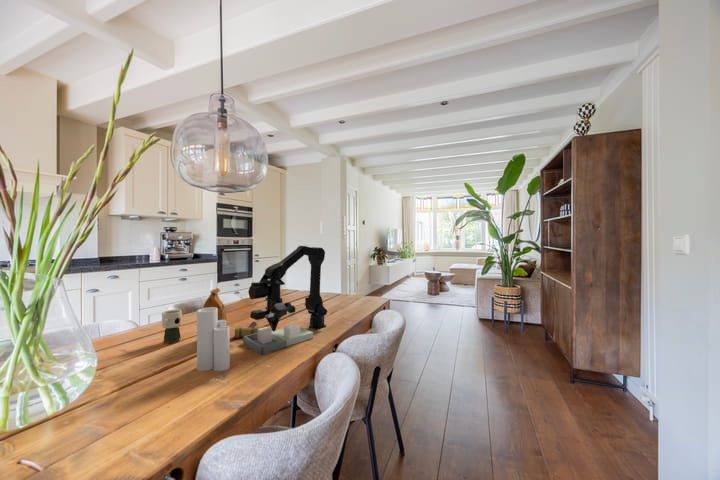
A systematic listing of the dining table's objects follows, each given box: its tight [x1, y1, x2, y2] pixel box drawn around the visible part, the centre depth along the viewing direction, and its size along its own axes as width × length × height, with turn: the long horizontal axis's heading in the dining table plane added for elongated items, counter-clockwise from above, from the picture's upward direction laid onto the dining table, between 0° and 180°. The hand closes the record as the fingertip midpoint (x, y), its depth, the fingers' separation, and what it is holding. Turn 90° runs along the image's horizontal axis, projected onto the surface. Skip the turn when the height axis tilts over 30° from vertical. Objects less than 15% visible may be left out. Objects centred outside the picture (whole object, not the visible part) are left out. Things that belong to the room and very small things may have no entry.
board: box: [272, 326, 314, 347], centre depth 130 cm, size 14×14×2 cm
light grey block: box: [283, 323, 301, 339], centre depth 126 cm, size 5×5×4 cm
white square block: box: [258, 326, 272, 343], centre depth 125 cm, size 5×5×4 cm
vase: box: [196, 307, 231, 372], centre depth 102 cm, size 11×7×20 cm, turn 89°
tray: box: [242, 333, 288, 356], centre depth 121 cm, size 11×17×3 cm, turn 44°
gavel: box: [234, 321, 260, 339], centre depth 140 cm, size 21×5×10 cm
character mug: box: [161, 309, 183, 344], centre depth 126 cm, size 11×7×13 cm, turn 9°
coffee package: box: [202, 287, 227, 324], centre depth 128 cm, size 10×12×22 cm
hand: (273, 331), depth 128 cm, fingers closed
